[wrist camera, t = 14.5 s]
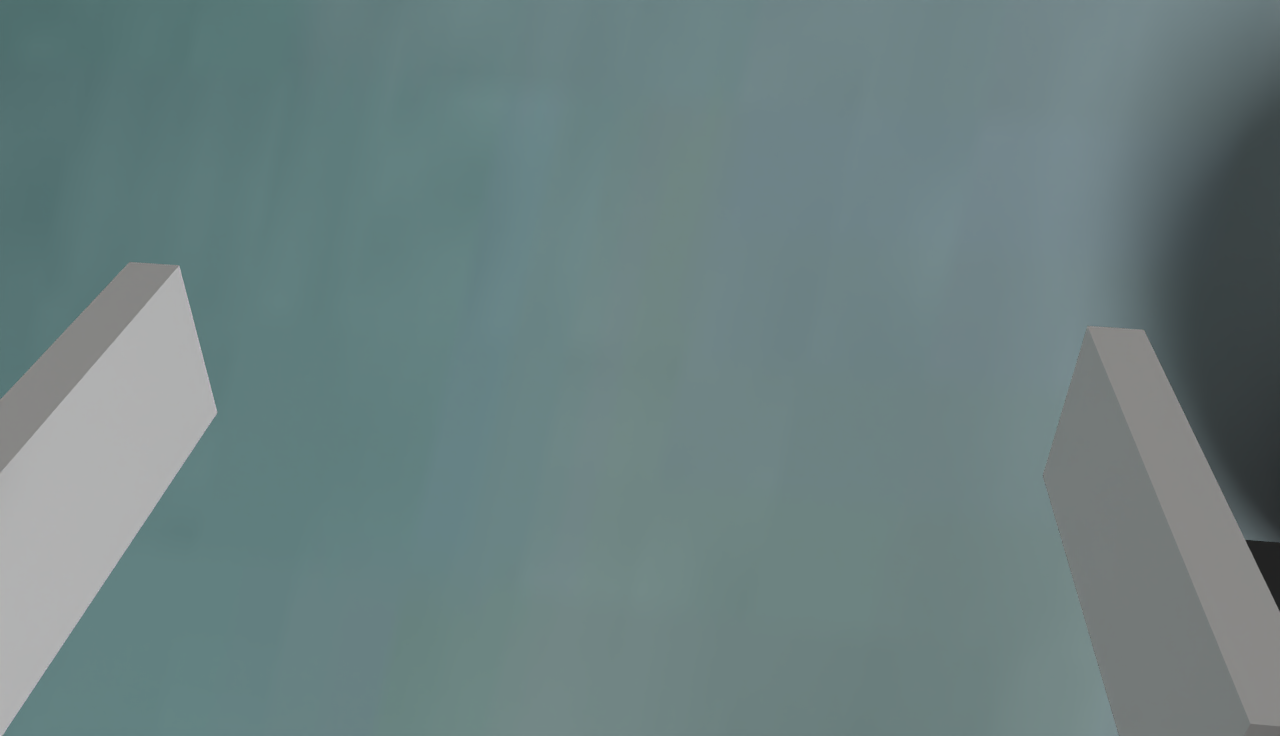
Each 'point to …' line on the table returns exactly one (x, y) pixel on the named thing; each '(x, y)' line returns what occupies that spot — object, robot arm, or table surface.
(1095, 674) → the table surface
